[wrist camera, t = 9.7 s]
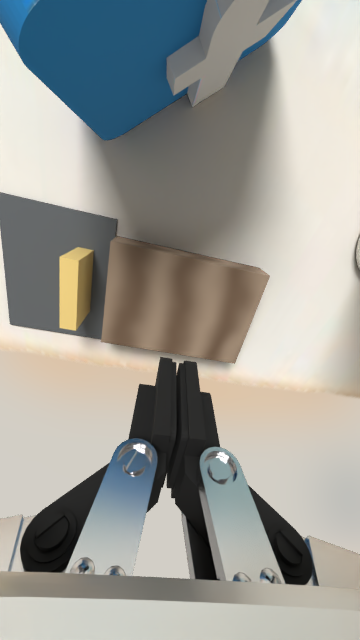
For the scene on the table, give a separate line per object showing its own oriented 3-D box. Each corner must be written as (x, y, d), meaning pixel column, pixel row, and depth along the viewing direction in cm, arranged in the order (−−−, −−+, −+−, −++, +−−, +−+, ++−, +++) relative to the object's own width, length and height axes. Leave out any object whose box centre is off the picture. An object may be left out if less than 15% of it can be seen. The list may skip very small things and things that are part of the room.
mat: (117, 219, 30) (116, 219, 30) (105, 338, 38) (104, 339, 38) (-2, 191, 28) (-4, 191, 28) (11, 323, 36) (10, 324, 36)
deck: (259, 267, 34) (269, 276, 30) (228, 348, 40) (234, 363, 36) (117, 236, 31) (110, 240, 28) (107, 328, 37) (101, 341, 34)
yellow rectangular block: (78, 260, 26) (59, 256, 26) (76, 330, 30) (59, 327, 30) (93, 250, 32) (78, 247, 31) (90, 310, 36) (76, 308, 35)
